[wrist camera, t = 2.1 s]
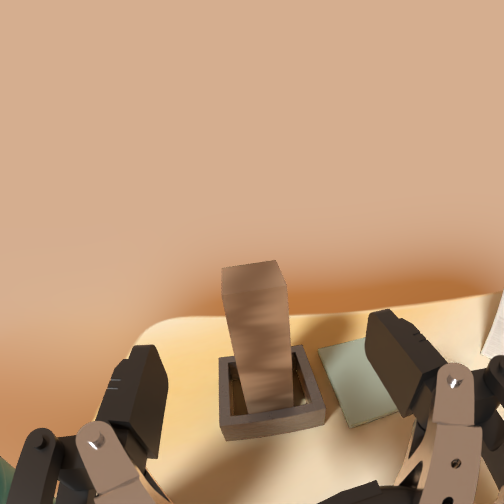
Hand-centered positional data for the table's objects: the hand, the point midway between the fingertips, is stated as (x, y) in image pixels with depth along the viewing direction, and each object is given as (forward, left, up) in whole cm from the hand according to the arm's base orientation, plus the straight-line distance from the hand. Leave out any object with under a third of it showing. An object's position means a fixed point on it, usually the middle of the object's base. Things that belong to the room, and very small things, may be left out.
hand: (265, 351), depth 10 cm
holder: (0, -11, -17) cm, 21 cm away
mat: (-12, -11, -17) cm, 24 cm away
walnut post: (0, -11, -17) cm, 21 cm away
